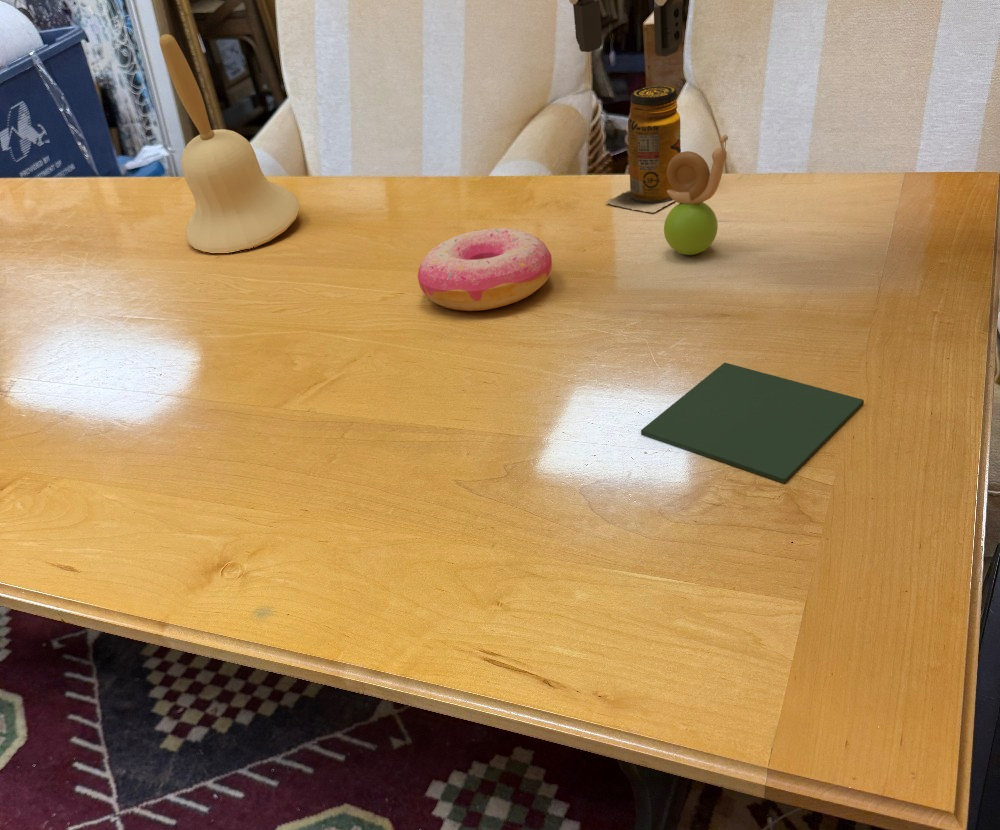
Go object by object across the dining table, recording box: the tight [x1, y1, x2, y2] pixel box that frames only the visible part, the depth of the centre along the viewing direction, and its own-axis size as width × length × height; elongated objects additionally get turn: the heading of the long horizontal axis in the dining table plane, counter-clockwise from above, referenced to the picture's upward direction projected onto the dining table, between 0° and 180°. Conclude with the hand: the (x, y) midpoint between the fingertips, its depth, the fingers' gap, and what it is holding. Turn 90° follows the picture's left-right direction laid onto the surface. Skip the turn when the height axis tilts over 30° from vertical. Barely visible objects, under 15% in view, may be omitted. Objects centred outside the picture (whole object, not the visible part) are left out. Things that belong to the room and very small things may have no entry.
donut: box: [417, 227, 553, 312], centre depth 93 cm, size 14×13×5 cm
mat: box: [640, 362, 865, 484], centre depth 69 cm, size 12×12×1 cm
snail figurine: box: [663, 134, 729, 256], centre depth 92 cm, size 5×6×12 cm
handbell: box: [159, 33, 301, 252], centre depth 111 cm, size 15×15×25 cm
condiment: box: [604, 85, 682, 214], centre depth 107 cm, size 7×8×12 cm
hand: (627, 52), depth 77 cm, fingers open, 8 cm apart
